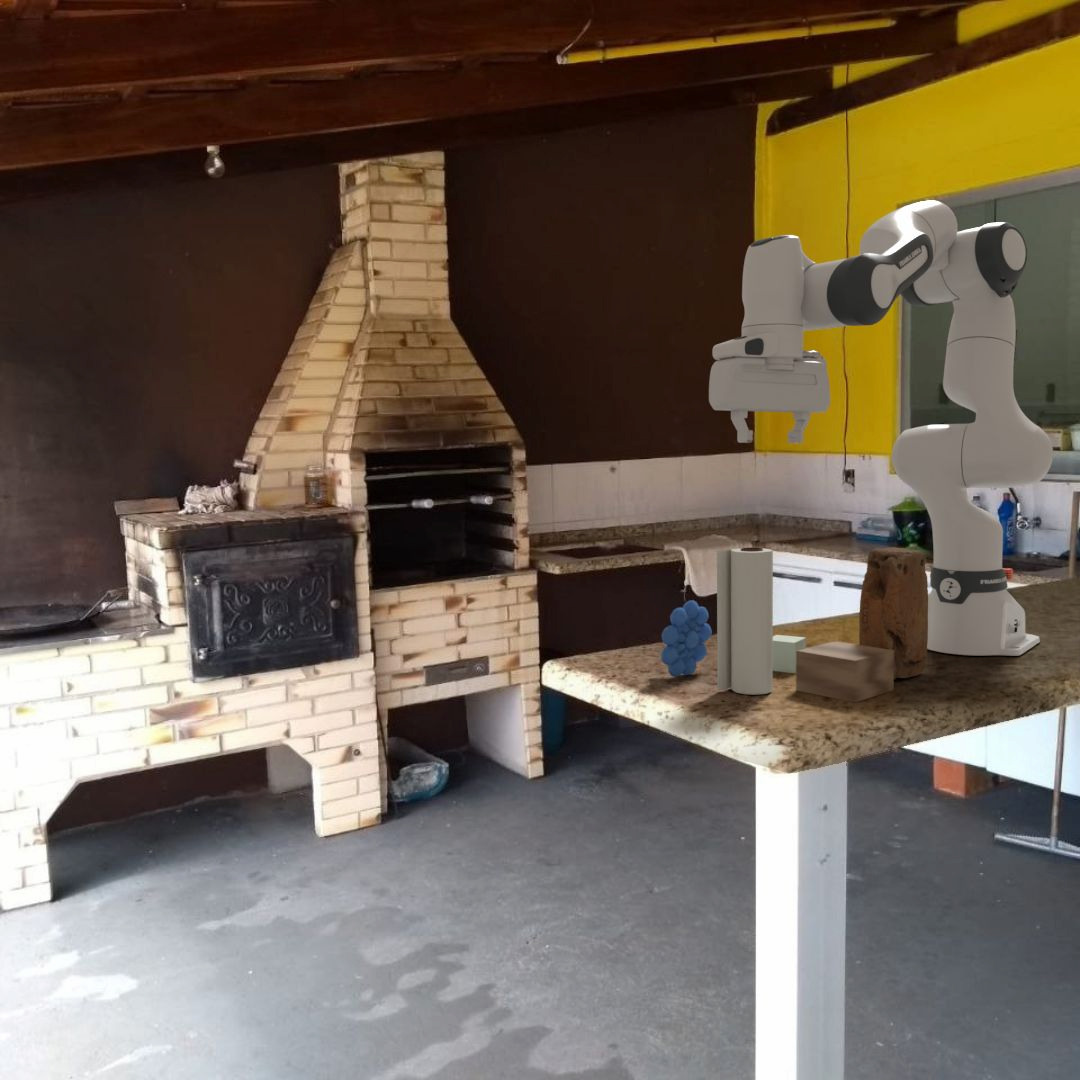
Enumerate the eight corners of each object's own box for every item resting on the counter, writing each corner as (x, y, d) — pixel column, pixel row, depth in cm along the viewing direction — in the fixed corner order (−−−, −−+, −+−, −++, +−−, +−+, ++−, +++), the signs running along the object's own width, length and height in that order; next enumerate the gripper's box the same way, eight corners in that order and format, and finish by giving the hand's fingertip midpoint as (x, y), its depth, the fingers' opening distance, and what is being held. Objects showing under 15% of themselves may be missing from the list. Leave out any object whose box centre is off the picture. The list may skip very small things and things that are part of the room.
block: (889, 666, 170) (890, 544, 168) (932, 674, 165) (934, 547, 163) (851, 678, 163) (852, 550, 161) (895, 686, 158) (896, 553, 156)
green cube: (776, 664, 174) (776, 634, 174) (805, 667, 172) (806, 637, 171) (765, 670, 170) (765, 639, 170) (794, 673, 167) (794, 642, 167)
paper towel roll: (778, 689, 157) (779, 547, 155) (763, 698, 152) (763, 551, 150) (734, 683, 161) (733, 545, 159) (717, 692, 156) (716, 549, 154)
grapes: (688, 665, 174) (687, 594, 173) (721, 671, 170) (720, 598, 168) (642, 677, 166) (641, 603, 165) (675, 684, 162) (675, 607, 160)
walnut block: (835, 679, 163) (835, 641, 162) (893, 690, 155) (893, 650, 154) (796, 690, 156) (796, 650, 156) (855, 702, 149) (855, 660, 148)
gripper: (811, 353, 161) (809, 443, 162) (703, 346, 152) (702, 442, 153) (840, 349, 156) (839, 443, 157) (730, 342, 146) (728, 441, 147)
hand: (770, 442), depth 155 cm, fingers open, 8 cm apart
